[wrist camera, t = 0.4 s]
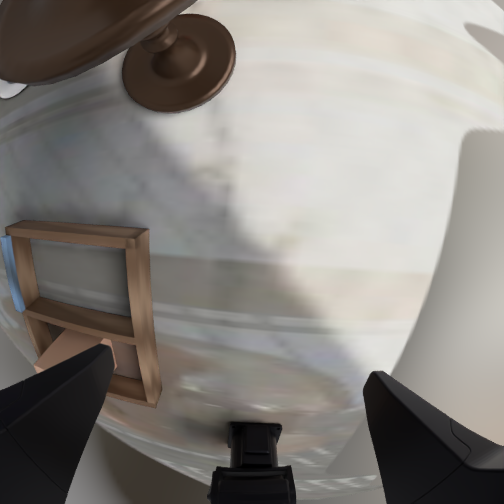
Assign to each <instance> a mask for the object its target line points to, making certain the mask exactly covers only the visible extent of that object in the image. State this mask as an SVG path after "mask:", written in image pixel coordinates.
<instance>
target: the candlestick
mask: <svg viewBox="0 0 504 504" xmlns="http://www.w3.org/2000/svg"><path fill="white" fill-rule="evenodd" d="M196 1H197V0H3V1H2V3H1V5H0V79H1V80H4V81H9V82H14V83H20V84H25V85H30V86H39V85H47V84H54V83H56V82H59V81H62V80H65V79H68V78H71V77H74V76H77V75H79V74H81V73H83V72H85V71H87V70H89V69H91V68H93V67H95V66H98V65H100V64H102V63H104V62H105V61H107V60H109V59H110V58H112V57H114V56H115V55H117V54H119V53H121V52H122V51H124V50H126V49H128V48H129V50H128V51H127V54H126V56H125V59H124V62H123V68H122V77H123V83H124V86H125V89H126V90H127V92H128V94H129V95H130V97H131V98H132V99H133V100H134V101H135V102H137V103H138V104H140V105H142V106H143V107H145V108H147V109H150V110H153V111H156V112H161V113H180V112H184V111H189V110H192V109H194V108H197V107H199V106H201V105H203V104H205V103H206V102H208V101H210V100H211V99H212V98H214V97H215V96H216V95H217V94H218V93H219V92H220V91H221V90H222V89H223V88H224V87H225V85H226V84H227V83H228V81H229V79H230V77H231V76H232V74H233V71H234V67H235V63H236V51H235V45H234V41H233V38H232V36H231V34H230V32H229V31H228V30H227V29H226V28H225V26H223V25H222V24H221V23H219V22H218V21H217V20H215V19H212V18H210V17H208V16H204V15H199V14H180V13H181V12H182V11H184V10H185V9H187V8H188V7H190V6H191V5H192V4H194V3H195V2H196ZM178 14H180V15H178Z"/></svg>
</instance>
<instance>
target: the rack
mask: <svg viewBox="0 0 504 504" xmlns="http://www.w3.org/2000/svg"><path fill="white" fill-rule="evenodd" d="M5 230H6V235H5V236H3V237H0V238H1V245H2V251H3V257H4V263H5V268H6V273H7V277H8V282H9V286H10V290H11V294H12V298H13V301H14V305H15V308H16V311H18V312H21V313H23V316H24V320H25V323H26V326H27V329H28V332H29V335H30V338H31V340H32V343H33V346H34V348H35V351H36V353H37V356H38V358H40V357H41V356H42V354H43V353H44V352H45V351H46V350H47V349H48V348H49V347H50V345H51V344H52V343H53V341H52V338H51V334H50V331H49V328H48V325H47V322H48V323H51V324H54V325H57V326H60V327H64V328H67V329H71V330H74V331H78V332H81V333H85V334H89V335H93V336H97V337H101V338H105V339H109V340H113V341H118V342H122V343H127V344H132V345H136V349H137V355H138V360H139V365H140V370H141V375H142V380H143V381H140V380H136V379H132V378H127V377H123V376H119V375H115V374H113V375H112V378H111V381H110V384H109V387H108V391H107V394H106V396H109V397H113V398H116V399H120V400H123V401H127V402H131V403H135V404H139V405H143V406H148V407H152V408H156V406H157V403H158V401H159V398H160V395H161V392H162V385H161V378H160V372H159V365H158V358H157V350H156V341H155V332H154V322H153V311H152V298H151V281H150V255H149V229H144V228H131V227H118V226H105V225H91V224H77V223H62V222H47V221H30V220H23V221H20V222H17V223H15V224H12V225H10V226H7V227H5ZM30 238H33V239H42V240H51V241H59V242H68V243H77V244H86V245H95V246H104V247H114V248H123V249H126V266H127V279H128V290H129V299H130V308H131V316H132V318H131V317H125V316H120V315H115V314H110V313H105V312H100V311H96V310H91V309H86V308H82V307H78V306H74V305H69V304H65V303H61V302H57V301H54V300H50V299H46V298H42V297H40V294H39V290H38V285H37V281H36V275H35V270H34V264H33V258H32V252H31V244H30Z"/></svg>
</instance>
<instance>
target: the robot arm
mask: <svg viewBox="0 0 504 504" xmlns="http://www.w3.org/2000/svg"><path fill="white" fill-rule="evenodd" d="M114 369H115V362H114V358H113V353H112V349H111V347H110V346H109V345H105V344H102V343H99V344H97V345H95V346H93V347H91V348H89V349H87V350H85V351H83V352H81V353H79V354H77V355H75V356H73V357H71V358H69V359H66V360H64V361H62V362H60V363H58V364H56V365H54V366H52V367H50V368H48V369H46V370H44V371H42V372H40V373H38V374H36V375H33V376H31V377H29V378H27V379H25V380H24V381H21V382H19V383H16V384H14V385H12V386H10V387H8V388H5V389H2V390H0V504H65V501H66V498H67V495H68V494H67V493H68V491H69V488H70V485H71V483H72V480H73V477H74V474H75V471H76V469H77V466H78V463H79V461H80V458H81V455H82V453H83V451H84V448H85V446H86V443H87V440H88V438H89V436H90V433H91V431H92V428H93V426H94V424H95V422H96V419H97V417H98V415H99V412H100V410H101V408H102V405H103V403H104V400H105V397H106V394H107V391H108V387H109V384H110V381H111V378H112V375H113V372H114ZM363 396H364V402H365V408H366V415H367V421H368V426H369V431H370V435H371V438H372V442H373V446H374V450H375V454H376V458H377V462H378V466H379V470H380V475H381V479H382V484H383V488H384V492H385V498H386V503H387V504H504V446H501V445H498V444H496V443H494V442H492V441H490V440H488V439H486V438H484V437H482V436H480V435H478V434H476V433H475V432H473V431H471V430H469V429H467V428H466V427H464V426H463V425H461V424H459V423H458V422H456V421H455V420H453V419H452V418H450V417H449V416H447V415H446V414H444V413H443V412H442V411H440V410H439V409H437V408H436V407H434V406H432V405H431V404H430V403H428V402H427V401H425V400H424V399H422V398H421V397H419V396H418V395H417V394H415V393H414V392H412V391H411V390H409V389H408V388H407V387H405V386H404V385H402V384H401V383H399V382H398V381H397V380H395V379H394V378H392V377H391V376H389V375H388V374H387V373H385V372H384V371H373V372H371V374H370V375H369V377H368V379H367V382H366V384H365V386H364V388H363ZM281 431H282V425H280V424H250V423H235V422H232V423H230V427H229V439H228V448H231V459H230V468H228V467H220V466H217V467H216V471H213V474H212V482H211V486H210V489H209V492H208V494H207V499H208V500H209V501H210V502H211V504H296V490H295V484H294V479H293V474H292V468H291V465H288V466H284V467H278V459H277V446H276V445H277V442H278V440H279V437H280V434H281Z"/></svg>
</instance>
